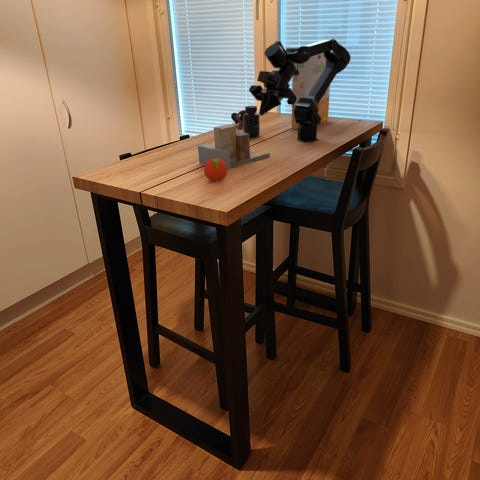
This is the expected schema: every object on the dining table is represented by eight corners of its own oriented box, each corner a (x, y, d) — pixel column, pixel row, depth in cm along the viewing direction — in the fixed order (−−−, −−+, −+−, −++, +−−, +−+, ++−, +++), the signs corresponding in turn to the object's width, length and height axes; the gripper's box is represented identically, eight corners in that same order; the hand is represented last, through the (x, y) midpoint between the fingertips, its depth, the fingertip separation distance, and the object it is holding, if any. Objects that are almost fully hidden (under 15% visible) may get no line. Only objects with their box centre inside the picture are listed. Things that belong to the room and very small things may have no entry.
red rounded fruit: (230, 184, 124) (229, 160, 121) (207, 187, 123) (205, 163, 120) (225, 176, 131) (224, 153, 128) (203, 178, 130) (201, 156, 127)
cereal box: (316, 119, 204) (318, 51, 190) (328, 121, 200) (331, 51, 187) (291, 129, 188) (292, 54, 174) (304, 130, 184) (306, 54, 171)
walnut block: (232, 155, 152) (231, 130, 148) (250, 160, 145) (249, 133, 141) (224, 158, 149) (222, 132, 145) (241, 163, 143) (240, 136, 139)
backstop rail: (245, 150, 158) (244, 134, 155) (272, 157, 149) (272, 139, 146) (199, 162, 146) (197, 145, 143) (225, 170, 136) (224, 152, 134)
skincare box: (223, 166, 141) (220, 129, 135) (215, 163, 144) (212, 127, 138) (238, 161, 144) (236, 125, 139) (230, 159, 147) (227, 123, 142)
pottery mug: (257, 125, 200) (258, 111, 193) (249, 138, 195) (249, 124, 188) (234, 117, 203) (234, 103, 196) (225, 130, 198) (225, 116, 191)
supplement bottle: (258, 138, 175) (257, 107, 170) (242, 137, 176) (240, 107, 171) (261, 134, 181) (260, 104, 176) (245, 134, 182) (244, 105, 177)
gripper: (251, 60, 150) (229, 97, 149) (291, 61, 138) (267, 102, 136) (268, 81, 158) (247, 117, 157) (306, 85, 146) (284, 123, 144)
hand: (260, 114), depth 148 cm, fingers closed
